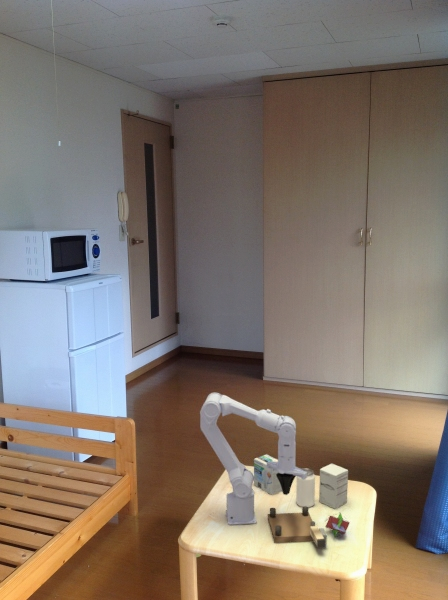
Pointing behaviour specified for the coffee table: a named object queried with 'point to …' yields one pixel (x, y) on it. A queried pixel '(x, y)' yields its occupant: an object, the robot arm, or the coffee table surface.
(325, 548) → the block
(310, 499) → the can
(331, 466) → the supplement box
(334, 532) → the geometric puzzle
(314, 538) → the hinged leg
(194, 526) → the coffee table surface
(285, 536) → the stool seat
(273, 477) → the light bulb box
